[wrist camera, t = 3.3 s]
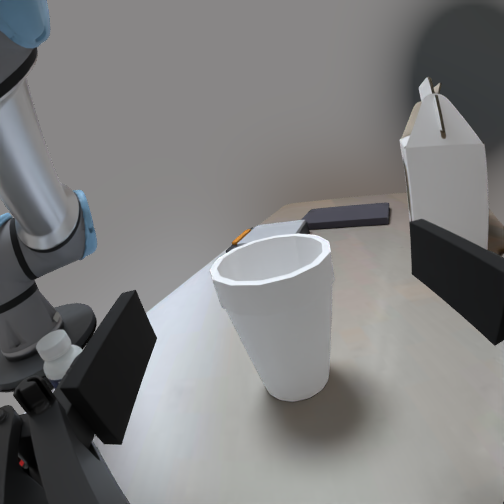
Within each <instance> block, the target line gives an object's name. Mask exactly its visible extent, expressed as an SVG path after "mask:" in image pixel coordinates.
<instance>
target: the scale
mask: <svg viewBox="0 0 504 504" xmlns="http://www.w3.org/2000/svg"><path fill="white" fill-rule="evenodd" d="M297 233H299V234H308V233H309V227H308V222H307V221H305V220H297V221H289V222H280V223H272V224H264V225H257V226H256V227H255V228H251V229H248V230H245V231H244V232H243V233H242V234H241V235H240V236H238V237H237V238H236V239H235V240H234V241H233V242H232V246H231V247H229V248H228V249H227V250H226V253H227V252H229V251H230V250H232V249H234V248H237V247H239V246H242V245H244V244H247V243H249V242H252V241H255V240H259V239H263V238H267V237H272V236H276V235H286V234H297Z"/></svg>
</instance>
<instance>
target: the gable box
mask: <svg viewBox="0 0 504 504" xmlns="http://www.w3.org/2000/svg"><path fill="white" fill-rule="evenodd" d="M440 88H441V83H439V84H438V85H437V86H436V87H434V88H433V84H432V81H431V78H430V77H427V78H426V79H425V80H424V82H423V83H422V84H421V85H420V87H419V92H420V96H421V101H420V102H418V103H416V104H415V105H414V107H413V110H412V113H411V115H410V118H409V120H408V123H407V125H406V128H405V131H404V133H403V135H402V138H401V139H400V145H401V151H402V158H403V164H404V171H405V179H406V186H407V196H408V207H409V218H410V222H411V221H415V220H418V219H424V220H426V221H429V222H431V223H433V224H435V225H437V226H439V227H442V228H444V229H446V230H448V231H450V232H452V233H454V234H456V235H458V236H461V237H463V238H465V239H467V240H469V241H471V242H473V243H475V244H477V245H479V246H481V247H482V248H484V249H486V250H487V248H488V218H489V209H488V179H487V165H486V155H485V146H484V143H483V142H481V140H480V139H479V138H478V137H477V135H476V134H475V132H474V131H473V130H472V128H471V127H470V126H469V125H468V123H467V122H466V120H465V119H464V118H463V117H462V116H461V114H460V113H459V112H458V111H457V109H456V108H455V107H454V106H453V105H452V103H451V102H450V101H449V100H448V99H447V98H446V97H445V96H443V95H441V94H439V93H440Z"/></svg>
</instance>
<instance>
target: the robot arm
mask: <svg viewBox="0 0 504 504" xmlns="http://www.w3.org/2000/svg"><path fill="white" fill-rule="evenodd" d="M49 35H50V18H49V10H48V5H47V0H0V199H1V201H2V202H3V203H4V205H5V206H6V207H7V209H8V210H9V211H10V212H11V214H12V215H13V216H14V218H12V216H11V215H10V213H6V214H3V215H1V216H0V349H1V352H2V353H3V355H4V357H5V358H6V359H7V360H8V361H11V362H16V361H21V360H24V359H27V358H29V357H31V356H33V355H35V354H37V353H38V351H37V349H36V345H37V343H38V342H39V340H40V339H41V338H43V337H44V336H45V335H47V334H49V333H50V332H53V331H56V330H63V328H64V322H63V320H62V318H61V315H60V314H59V313H58V312H57V311H56V309H55V308H54V307H53V306H52V305H51V304H50V303H49V302H48V301H47V300H46V299H45V297H44V296H43V295H42V294H41V293H40V291H39V289H38V287H37V285H36V283H35V280H34V279H36V278H39V277H41V276H43V275H45V274H47V273H49V272H52V271H54V270H56V269H58V268H60V267H63V266H65V265H68V264H70V263H72V262H74V261H77V260H82V259H83V258H85V256H88V255H90V254H92V253H93V252H94V251H95V250H96V248H97V239H96V233H95V230H94V227H93V221H92V216H91V213H90V209H89V206H88V202H87V200H86V196H85V194H84V192H83V191H81V190H77V191H76V190H73V191H72V190H71V189H70V188H69V187H68V186H66V185H64V184H61V183H60V180H59V178H58V175H57V173H56V170H55V168H54V165H53V162H52V160H51V157H50V154H49V151H48V148H47V146H46V143H45V140H44V137H43V134H42V131H41V128H40V124H39V121H38V118H37V115H36V111H35V108H34V104H33V101H32V97H31V93H30V90H29V85H28V82H27V76H28V75H29V73H30V72H31V70H32V69H33V67H34V65H35V63H36V61H37V56H38V53H37V47H38V46H39V45H40V44H41V43H43V42H44V41H46V40H47V38H48V37H49ZM409 223H410V237H411V259H412V275H414V276H415V277H416V278H417V279H419V280H420V281H421V282H422V283H424V284H425V285H426V286H427V287H429V288H430V289H431V290H432V291H433V292H435V293H436V294H437V295H438V296H439V297H441V298H442V299H443V300H444V301H445V302H447V303H448V304H449V305H450V306H451V307H452V308H454V309H455V310H456V311H457V312H458V313H459V314H460V315H462V316H463V317H464V318H465V319H466V320H467V321H468V322H470V323H471V324H472V325H473V326H474V327H475V328H476V329H477V330H478V331H480V332H481V333H482V334H483V335H484V336H485V337H486V338H487V339H488V340H489V341H490V342H491V343H492V344H494V345H497V344H498V343H500V342H502V341H503V340H504V258H503V257H500V255H498V254H496V253H494V252H492V251H488V250H486V249H484V248H482V247H481V246H479V245H477V244H475V243H473V242H471V241H469V240H467V239H465V238H463V237H461V236H458V235H456V234H454V233H452V232H450V231H448V230H446V229H444V228H442V227H439V226H437V225H435V224H433V223H431V222H429V221H426V220H424V219H418V220H415V221H411V222H409ZM156 340H157V337H156V335H155V333H154V331H153V329H152V326H151V324H150V322H149V320H148V317H147V315H146V313H145V311H144V308H143V306H142V304H141V301H140V299H139V297H138V294H137V292H136V290H133V291H129V292H125V293H122V294H121V295H120V297H119V298H118V299H117V301H116V302H115V304H114V305H113V306H112V308H111V309H110V311H109V312H108V314H107V315H106V317H105V318H104V319H103V321H102V322H101V324H100V326H99V327H98V328H97V330H96V331H95V333H94V334H93V336H92V337H91V339H90V340H89V342H88V343H87V345H86V347H85V348H84V350H83V351H82V352H81V353H80V354H79V355H78V356H77V357H76V358H75V359H74V360H73V362H72V364H71V365H70V368H68V370H67V371H66V375H64V376H63V378H62V379H61V381H60V383H59V384H58V386H57V388H56V389H55V391H54V393H52V391H51V390H50V388H49V387H48V386H47V384H46V383H45V381H44V380H43V378H42V377H41V376H39V375H34V376H31V377H28V378H26V379H25V380H23V381H22V382H21V383H20V384H19V385H18V386H17V387H16V389H15V391H14V394H13V396H14V397H15V399H16V400H17V401H18V403H19V404H20V405H21V407H22V408H23V409H24V410H25V412H26V414H22V415H18V414H17V412H16V411H15V410H14V409H13V407H12V406H9V405H7V406H3V407H1V408H0V504H130V503H129V501H128V500H127V498H126V497H125V495H124V494H123V492H122V490H121V489H120V487H119V486H118V484H117V482H116V481H115V479H114V477H113V476H112V474H111V472H110V470H109V468H108V467H107V465H106V463H105V461H104V459H103V458H102V456H101V454H100V452H99V450H98V448H97V447H96V446H95V444H94V443H93V442H92V440H93V437H94V435H95V434H96V436H97V437H98V438H99V439H100V440H101V441H102V442H103V444H118V445H122V441H123V438H124V435H125V432H126V428H127V425H128V422H129V419H130V416H131V413H132V409H133V406H134V403H135V400H136V397H137V394H138V391H139V388H140V385H141V382H142V379H143V376H144V373H145V371H146V368H147V365H148V362H149V359H150V356H151V354H152V351H153V348H154V345H155V343H156ZM18 457H19V458H20V459H21V460H22V461H23V462H24V463H25V467H24V468H23V467H22V466H21V465H20V464H19V462H18ZM503 504H504V502H503Z"/></svg>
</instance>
